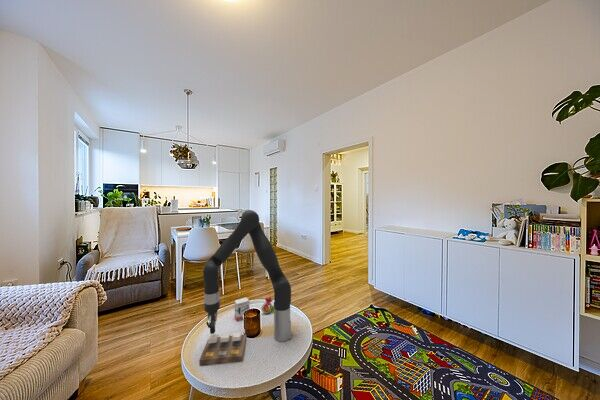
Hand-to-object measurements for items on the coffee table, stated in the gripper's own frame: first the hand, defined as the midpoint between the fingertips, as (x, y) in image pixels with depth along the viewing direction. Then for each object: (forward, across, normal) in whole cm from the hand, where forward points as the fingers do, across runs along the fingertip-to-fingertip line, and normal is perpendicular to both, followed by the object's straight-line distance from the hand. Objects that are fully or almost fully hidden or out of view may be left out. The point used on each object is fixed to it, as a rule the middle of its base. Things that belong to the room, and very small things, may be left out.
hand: (212, 332), depth 117 cm
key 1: (+4, 0, 0) cm, 4 cm away
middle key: (+4, 0, -6) cm, 7 cm away
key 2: (+4, 0, -12) cm, 13 cm away
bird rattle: (+9, +31, -28) cm, 43 cm away
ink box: (+10, +28, -11) cm, 32 cm away
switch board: (+9, -2, -6) cm, 11 cm away
